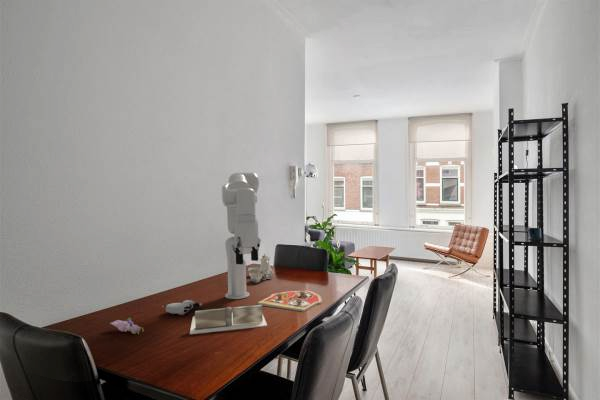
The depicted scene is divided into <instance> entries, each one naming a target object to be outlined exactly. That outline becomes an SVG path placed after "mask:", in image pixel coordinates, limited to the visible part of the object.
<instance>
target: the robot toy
mask: <svg viewBox="0 0 600 400" xmlns="http://www.w3.org/2000/svg"><path fill="white" fill-rule="evenodd" d="M202 306H203V303H199V302H195V301H193V300H191V299H190V300H189V299H186V300H183V301H181V302H172V303H169V304H166V305H165V306H164V305H162V306H161V307H162V308H165V311H166V313H169V314H171V315H175V314H176V315H177V314H178V315H179V316H184V315H185V314H186V313H189V312H190V310H193V309H194V308H199V307H202Z"/></svg>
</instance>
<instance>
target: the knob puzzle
mask: <svg viewBox="0 0 600 400" xmlns="http://www.w3.org/2000/svg"><path fill="white" fill-rule="evenodd" d="M322 303H323V299H322V297H321V295H320V294H318V293H316V292H314V291H311V290H289V291H282V292H277V293H275V292H274V293H270V295H269V296H268V297H266V298H264V299H262V300H259V301H258V302H257V305H262V307H263V306H264V307H271V308H275V309H276V308H278V309H283V310H290V311H297V312H303V313H304V312H306V311H308V310H310V309H312V308H314V307H315V306H317V305H322Z"/></svg>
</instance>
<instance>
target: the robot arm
mask: <svg viewBox="0 0 600 400" xmlns="http://www.w3.org/2000/svg"><path fill="white" fill-rule="evenodd" d="M259 180H260V179H259V177H258V175H257V174H256V173H255V172H234V173H233V174H232V173H231V175H230V176H229V177H228V183H226V184H224V185H222V187H221V200H222V203H223V205H224V207H226V213H227V216H226V217H227V219H226V220H227V230H228V232H229V233H230V234H233V235H234V236H231V237H228V238H227V239H226V240H225V243H224V245H225V251H226V259H227V288H228V289H227V290H228V291H227V293H225V295H224V297H225V298H226V299H228V300H241V299H245V298H248V297H249V296H250V292H249V291H247V264H246V263H247V262H246V261H245V259H244V255H248V254H250V260H251V261H255V262H256V261H257V262H258V261H259V250H260V247H261V241H262V240H261V238H259V222H258V218H257V217H256V203H257V202H258V193H257V192H258V189H259V186H260V185H259V184H260V181H259Z"/></svg>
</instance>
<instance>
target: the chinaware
mask: <svg viewBox="0 0 600 400" xmlns="http://www.w3.org/2000/svg"><path fill="white" fill-rule="evenodd" d="M259 259H260V267H257V266H254V267H248V268H246V271H248V273H249V274H248V275H249V277H250V280H251V281H252V282H253V284H259V283H260V281H267V280H266V279H270V280H272V279H273V278H272V277H273V276H274V274H275V273H274V270H273V269H272V268H271V265H270V260H271V259H270V257H268V255H267V254H266V253H264V254H263V255H262V257H261V256H260V257H259ZM271 278H272V279H271ZM261 279H262V280H261ZM258 282H259V283H258Z"/></svg>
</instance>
